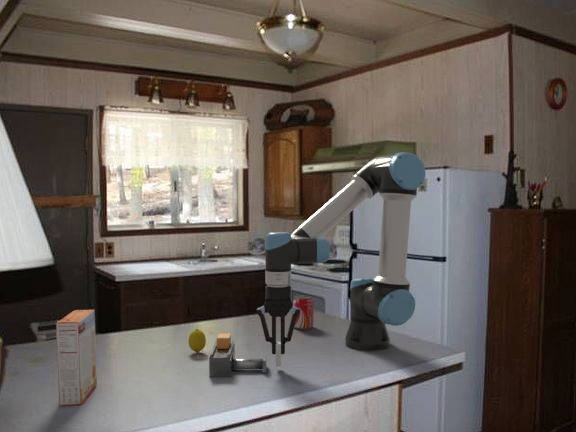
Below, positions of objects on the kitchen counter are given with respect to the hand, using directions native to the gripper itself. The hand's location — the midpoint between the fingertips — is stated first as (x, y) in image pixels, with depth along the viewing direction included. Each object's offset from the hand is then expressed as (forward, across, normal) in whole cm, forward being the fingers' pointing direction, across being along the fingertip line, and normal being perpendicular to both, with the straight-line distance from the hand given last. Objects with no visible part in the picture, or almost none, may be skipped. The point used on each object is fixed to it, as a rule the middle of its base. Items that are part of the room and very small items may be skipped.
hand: (278, 364), depth 155 cm
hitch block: (+2, -16, +2) cm, 17 cm away
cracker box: (+2, -52, -18) cm, 55 cm away
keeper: (-4, -16, +6) cm, 18 cm away
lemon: (+2, -26, +18) cm, 32 cm away
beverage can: (+2, +10, +50) cm, 50 cm away
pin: (+1, -10, 0) cm, 10 cm away
